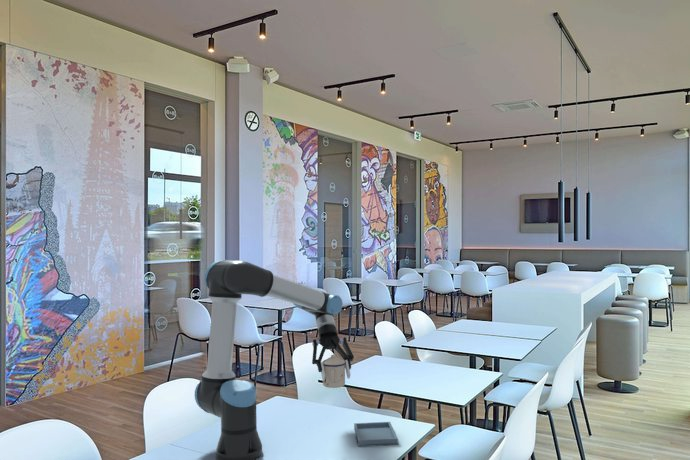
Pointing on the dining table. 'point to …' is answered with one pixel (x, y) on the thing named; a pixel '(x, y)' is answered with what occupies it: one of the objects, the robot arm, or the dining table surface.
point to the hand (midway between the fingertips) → (336, 377)
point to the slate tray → (375, 434)
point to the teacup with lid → (334, 372)
